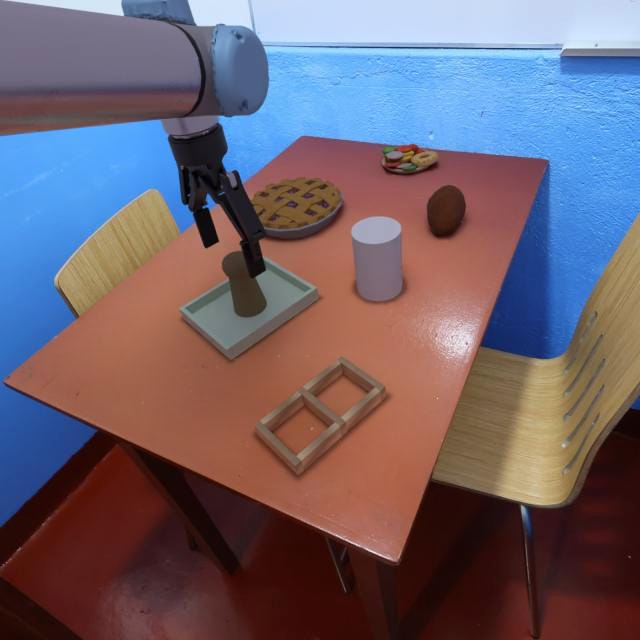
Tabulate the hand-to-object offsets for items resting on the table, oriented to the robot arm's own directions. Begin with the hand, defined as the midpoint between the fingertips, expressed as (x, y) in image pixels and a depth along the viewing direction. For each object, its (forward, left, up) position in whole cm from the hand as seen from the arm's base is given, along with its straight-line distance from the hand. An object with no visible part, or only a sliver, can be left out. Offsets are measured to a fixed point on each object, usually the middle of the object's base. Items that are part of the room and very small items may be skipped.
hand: (233, 258), depth 77 cm
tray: (0, 0, -11) cm, 11 cm away
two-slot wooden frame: (-7, -27, -11) cm, 30 cm away
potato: (+42, -11, -12) cm, 45 cm away
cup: (+19, -14, -12) cm, 26 cm away
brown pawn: (0, 0, -11) cm, 11 cm away
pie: (+26, +18, -12) cm, 34 cm away
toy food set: (+59, +13, -12) cm, 62 cm away
